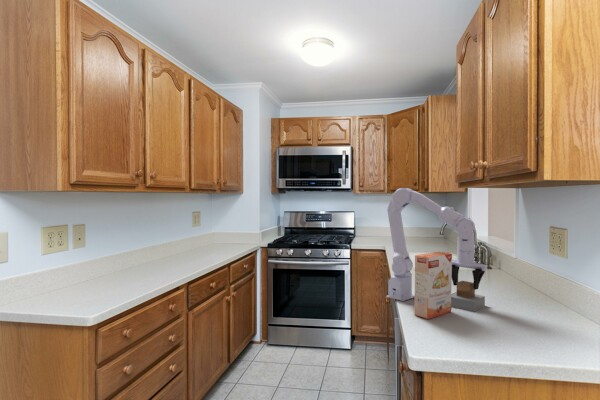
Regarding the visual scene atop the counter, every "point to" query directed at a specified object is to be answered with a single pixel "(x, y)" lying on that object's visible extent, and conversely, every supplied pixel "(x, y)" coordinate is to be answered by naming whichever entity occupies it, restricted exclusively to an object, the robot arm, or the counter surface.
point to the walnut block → (465, 289)
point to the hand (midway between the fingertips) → (465, 287)
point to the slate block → (467, 302)
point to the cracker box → (433, 284)
